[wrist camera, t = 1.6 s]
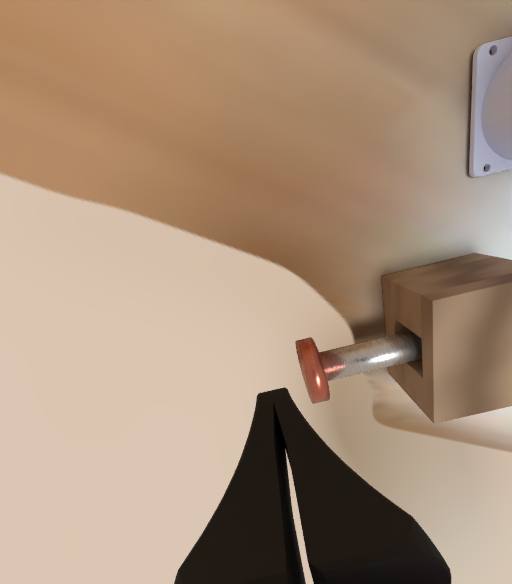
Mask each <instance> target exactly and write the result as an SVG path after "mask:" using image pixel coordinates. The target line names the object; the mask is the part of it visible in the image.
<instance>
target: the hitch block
mask: <svg viewBox="0 0 512 584" xmlns="http://www.w3.org/2000/svg"><path fill="white" fill-rule="evenodd" d="M381 279H382V292H383V305H384V317H385V330H386V337H387V336H391V335H395V334H399V333H404V332H408V331H412V332H413V333H415V334H416V335H418V336H419V337H420V338H422V359H419V360H415V361H411V362H406V363H402V364H398V365H394V366H389V367H388V368H389V374H390V375H391V376H392V377H393V379H394V380H395V381H396V382H397V383H398V384H399V385H400V386H401V388H402V389H403V390H404V391H405V392H406V393H407V394H408V395H409V396H410V398H411V399H412V400H413V401H414V402H415V403H416V404H417V405H418V406H419V408H420V409H421V410H422V411H423V412H424V413H425V414H426V415H427V417H428V418H429V419H430V420H431V421H432V422H433V423H434V424H435V423H440V422H444V421H448V420H453V419H457V418H461V417H466V416H470V415H474V414H479V413H483V412H487V411H492V410H496V409H500V408H505V407H509V406H512V260H509V259H504V258H499V257H493V256H488V255H483V254H478V253H474V254H470V255H466V256H462V257H458V258H453V259H449V260H445V261H441V262H437V263H433V264H429V265H425V266H421V267H417V268H412V269H408V270H404V271H400V272H396V273H392V274H388V275H384V276H381Z"/></svg>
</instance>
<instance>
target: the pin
mask: <svg viewBox="0 0 512 584" xmlns="http://www.w3.org/2000/svg"><path fill="white" fill-rule="evenodd" d="M296 349H297V354H298V359H299V363H300V367H301V371H302V375H303V378H304V381H305V385H306V387H307V391H308V394H309V397H310V399H311V401H312V403H313V404H314V403H318V402H323V401H327V400H329V399H330V393H329V386H328V382H327V381H330V380H334V379H338V378H342V377H346V376H351V375H355V374H360V373H364V372H368V371H372V370H377V369H381V368H385V367H389V366H394V365H398V364H402V363H406V362H411V361H415V360H419V359H422V338H420V337H419V336H418V335H416V334H415V333H413V332H412V331H408V332H404V333H399V334H395V335H391V336H387V337H383V338H378V339H374V340H370V341H366V342H362V343H357V344H353V345H349V346H345V347H341V348H336V349H332V350H328V351H324V352H320V353H319V352H318V349H317V347H316V345H315V343H314V341H313V339H312V338H311V337H310V338H306V339H302V340H298V341H296Z"/></svg>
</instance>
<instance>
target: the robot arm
mask: <svg viewBox="0 0 512 584" xmlns="http://www.w3.org/2000/svg"><path fill="white" fill-rule="evenodd" d="M489 50H491V55H490V54H489ZM484 166H485V170H483V168H484ZM509 169H512V36H511V37H507V38H503V39H499V40H495V41H492V42H488V43H485V44H483V45H481V46H480V47H478V48H477V49H476V50H475V52H474V55H473V72H472V102H471V132H470V161H469V174H470V176H471V177H473V178H476V177H481V176H485V175H489V174H493V173H497V172H501V171H505V170H509ZM285 449H286V452H287V456H288V459H289V463H290V466H291V469H292V475H293V481H294V486H295V491H296V497H297V502H298V507H299V513H300V519H301V525H302V530H303V536H304V541H305V547H306V553H307V559H308V563H309V567H310V571H311V574H312V578H313V582H314V584H451V573H450V569H449V567H448V565H447V564H446V562H445V560H444V558H443V557H442V555H441V554H440V552H439V551H438V550H437V548H436V547H435V545H434V544H433V543H432V541H431V539H430V538H429V537H428V536H427V534H426V533H425V532H424V530H423V529H422V528H421V527H420V525H419V524H418V523H417V522H416V521H415V519H414V518H413V517H412V516H411V515H409V514H408V513H406V512H405V511H404V510H402V509H401V508H399V507H398V506H397V505H395V504H394V503H393V502H391V501H390V500H389V499H387V498H386V497H385V496H383V495H382V494H381V493H379V492H378V491H377V490H376V489H374V488H373V487H372V486H370V485H369V484H368V483H367V482H366V481H365V480H364V479H362V478H361V477H360V476H359V475H358V474H357V473H355V472H354V471H353V470H352V469H351V468H350V467H349V466H347V465H346V464H345V463H344V462H343V461H342V460H341V459H340V458H339V457H338V456H337V455H336V454H335V453H334V452H333V451H332V450H331V449H330V448H329V447H328V446H327V445H326V443H325V442H324V441H323V440H322V439H321V438H320V437H319V436H318V434H317V433H316V432H315V431H314V430H313V428H312V427H311V426H310V425H309V423H308V422H307V421H306V419H305V418H304V417H303V415H302V414H301V412H300V411H299V410H298V408H297V406H296V405H295V403H294V402H293V400H292V398H291V396H290V394H289V392H288V389H286V388H280V389H276V390H272V391H268V392H263V393H259V394H258V395H257V401H256V408H255V412H254V417H253V421H252V424H251V428H250V432H249V435H248V438H247V441H246V444H245V447H244V450H243V453H242V456H241V458H240V461H239V463H238V466H237V468H236V470H235V473H234V475H233V477H232V479H231V481H230V484H229V486H228V488H227V490H226V492H225V494H224V496H223V498H222V500H221V502H220V504H219V506H218V507H217V509H216V511H215V513H214V514H213V516H212V518H211V520H210V521H209V523H208V525H207V527H206V528H205V530H204V531H203V533H202V535H201V537H200V538H199V539H198V541H197V542H196V544H195V545H194V547H193V549H192V550H191V552H190V553H189V555H188V556H187V558H186V559H185V561H184V562H183V564H182V565H181V567H180V568H179V570H178V573H177V576H176V579H175V583H174V584H306V583H305V578H304V572H303V567H302V562H301V557H300V551H299V547H298V541H297V535H296V530H295V525H294V519H293V512H292V505H291V497H290V488H289V478H288V470H287V460H286V452H285Z"/></svg>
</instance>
